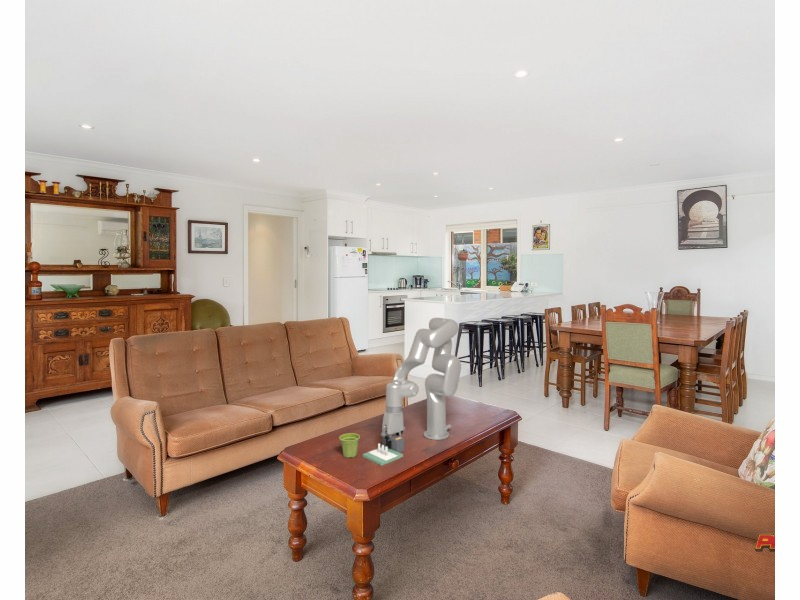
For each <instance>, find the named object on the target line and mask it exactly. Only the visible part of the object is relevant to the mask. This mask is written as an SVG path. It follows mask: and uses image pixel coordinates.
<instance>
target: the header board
mask: <svg viewBox="0 0 800 600" xmlns="http://www.w3.org/2000/svg"><path fill="white" fill-rule="evenodd" d="M401 457H402V458H403V457H404V454H403V453H402V452H400V453H399V452H396V451H394V450H392V449H388V447H387V446H386V447H385V446H384V445H382V444H381V443H380V442H379V443H377V448H376V449H372V450H370V451H367V452H365V453H362V458H365V459H366V460H369V461H371V462H372V463H375V464H377V465H379V466H381V467H382V466H385V465H388V464H390V463H392V462H394V461H396V460H399V459H401Z"/></svg>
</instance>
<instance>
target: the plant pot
mask: <svg viewBox="0 0 800 600" xmlns="http://www.w3.org/2000/svg"><path fill="white" fill-rule="evenodd" d="M338 438H339V440H340V444H341V449H342V454H343V457H344V458H347V459H348V458H355V457H357V455H358V448H359V447H358V445H359V441H360V438H361V437H360V434H357V433H354V432H348V433H343V434H341V435H340V436H339V437H338Z"/></svg>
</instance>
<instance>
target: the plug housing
mask: <svg viewBox="0 0 800 600" xmlns="http://www.w3.org/2000/svg"><path fill="white" fill-rule="evenodd" d="M385 435H386V433H385ZM388 437H389V435H388ZM381 443H382V444H381V446H382V445H384V446H385V447H386V440H385V438H384V437H383V436H381ZM391 449H392V450H394V451H396V452H399V453H402V452H404V451H405V438H404V437H402V436H401V437H400V436H398V435H396V434H392V435H391Z"/></svg>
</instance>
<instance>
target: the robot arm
mask: <svg viewBox="0 0 800 600" xmlns="http://www.w3.org/2000/svg"><path fill="white" fill-rule="evenodd" d="M458 324H459V323H457V321H456V320H453V319H450V318H443V317H433V318H431V319H430V320H429V322H428V328H419V329H418V330H417V331H416V332H415V335H414V338H413V341H412V345H411V347H410V351H409V353H408V356H407V358H405V359H404V361H402V362H401V363H400V365H399V366H398V367H397V368H396V370H395V373H394V376H393V380H392V381H391V382H388V383H387V384H386V386H385V387H386V388H385V411H384V414H383V418H382V428H381V433H380V436H381V437H382V436H383V437H384V438H385V440H386V446H387V447H388V449H391V435H392V434H395V435H398V436H400V437H402V435H403V434H404V431H405V429H406V427H405V425H404V413H403V409H402V408H403V398H408V399H410V398H413V397H416V396H417V395H418V393H419V391H420V390H419V386H418V384H417V383H416V382H414V381H411V380H408V379H407V377H408V374H409V373H410V372H411V371H412V370H414V368H417V367H419V366H422V365H424V364H425V362H426V359H427V356H428V353H429V350H430V349H431V348H432V349H434V351H433V355H432V359H431V360H432V361H431V367H432V369H433V370H434V371H436V372H438V373H430V374H428V375H427V377H426V378H425V381H424V388H425V393H426V394H425V395H426V430H425V431H424V432H423V436H424V438H426V439H429V440H433V441H439V440H440V441H441V440H445V439H448V438H449V435H450V433H449V431H448V429H451V428H452V425H451V423H449V424H446V422H447V417H446V416H447V413H446V412H447V411H446V409H447V407H446V406H447V405H446V404H447V401H446V398H451V397H454V395H455V393H456V392H457V389H458V386H459V385H458V384H459V381H460V376H461V370H462V364H461V363H462V362H461V360H460V358H459V357H458V356H456V355H453V354H452V349H453V340H452V339H453V338H454V337H455V336H456V335H457V334H458V332H459V325H458ZM439 373H442V374H443V375H442V374H439ZM385 434H386V435H385ZM388 435H389V437H388Z"/></svg>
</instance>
